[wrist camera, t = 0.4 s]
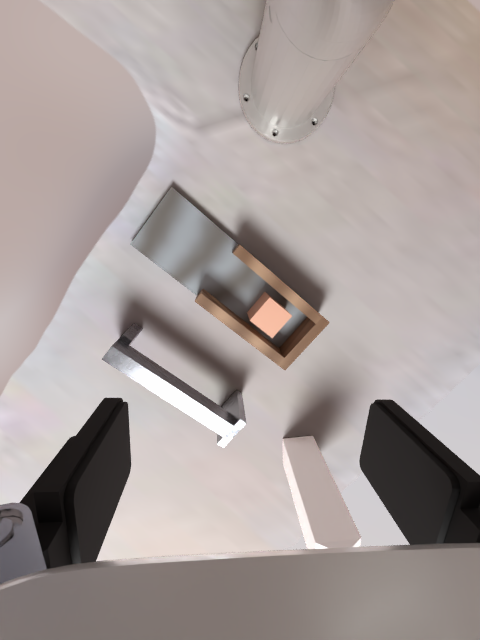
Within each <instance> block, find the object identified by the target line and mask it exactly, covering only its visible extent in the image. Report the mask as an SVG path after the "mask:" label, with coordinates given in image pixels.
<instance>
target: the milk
mask: <svg viewBox="0 0 480 640" xmlns="http://www.w3.org/2000/svg"><path fill="white" fill-rule="evenodd" d="M283 465H284V469H285V472H286V476H287V479H288V483H289V486H290V490H291V493H292V497H293V500H294V504H295V507H296V511H297V515H298V518H299V522H300V525H301V529H302V532H303V536H304V539H305V542H306V546H307V549H321V548H344V547H360V544H361V536H360V534H359V532H358V529H357V527H356V525H355V523H354V521H353V519H352V517H351V515H350V513H349V510H348V508H347V506H346V504H345V502H344V500H343V498H342V496H341V494H340V492H339V489H338V487H337V485H336V483H335V481H334V479H333V477H332V475H331V473H330V471H329V468H328V466H327V464H326V462H325V460H324V458H323V456H322V454H321V452H320V449H319V447H318V445H317V443H316V441H315V439H314V437H313V436H304V437H294V438H284V439H283Z"/></svg>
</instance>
